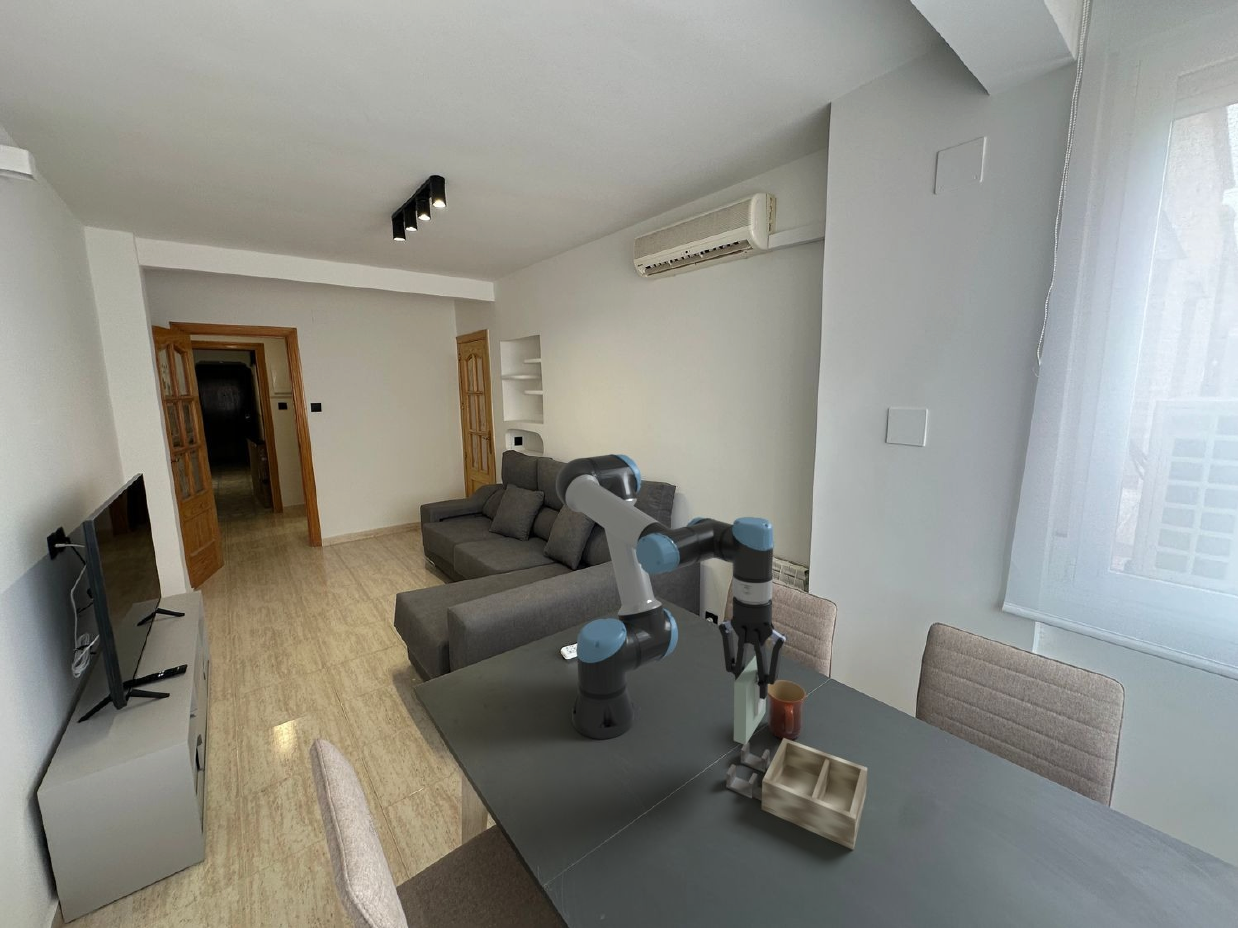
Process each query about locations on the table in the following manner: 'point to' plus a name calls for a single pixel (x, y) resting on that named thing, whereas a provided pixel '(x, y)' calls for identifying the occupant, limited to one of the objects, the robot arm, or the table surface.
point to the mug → (785, 709)
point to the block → (746, 704)
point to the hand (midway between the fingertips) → (750, 708)
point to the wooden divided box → (807, 789)
